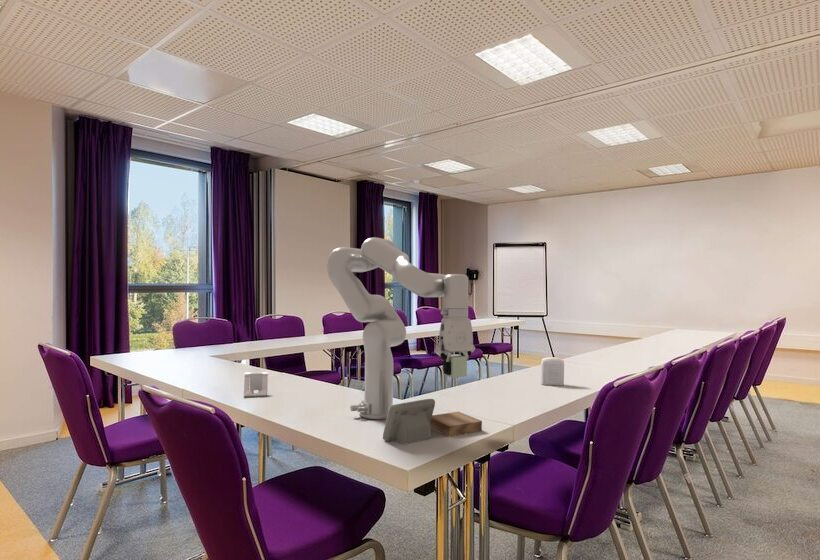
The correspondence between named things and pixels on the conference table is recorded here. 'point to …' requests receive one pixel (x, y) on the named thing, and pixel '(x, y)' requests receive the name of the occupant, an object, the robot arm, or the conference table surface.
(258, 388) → the portable electronic device stand
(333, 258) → the robot arm
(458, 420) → the wooden square slab
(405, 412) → the digital clock
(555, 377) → the photo printer
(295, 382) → the conference table surface
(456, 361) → the sage block
